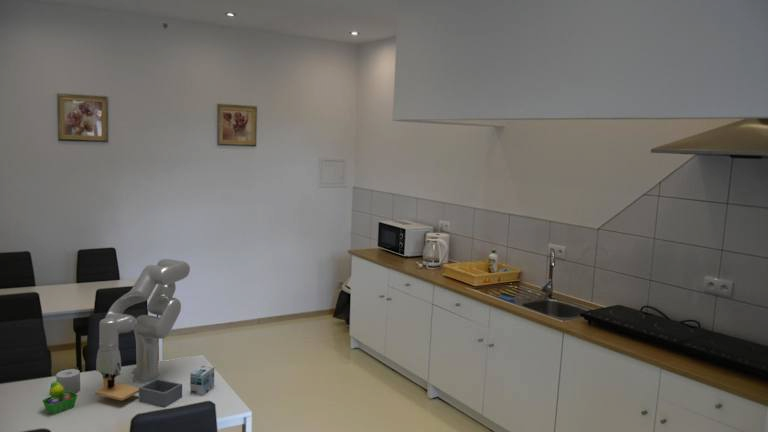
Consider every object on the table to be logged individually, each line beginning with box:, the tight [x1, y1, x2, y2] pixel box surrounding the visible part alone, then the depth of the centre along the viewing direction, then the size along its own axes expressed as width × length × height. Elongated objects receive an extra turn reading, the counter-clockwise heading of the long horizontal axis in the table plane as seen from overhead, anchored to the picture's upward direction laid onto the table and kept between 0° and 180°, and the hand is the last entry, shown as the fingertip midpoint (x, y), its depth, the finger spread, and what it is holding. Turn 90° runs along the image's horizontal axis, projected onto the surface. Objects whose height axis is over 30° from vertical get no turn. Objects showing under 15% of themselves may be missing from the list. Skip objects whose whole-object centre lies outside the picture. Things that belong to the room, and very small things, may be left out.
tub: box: [138, 378, 183, 408], centre depth 254 cm, size 14×11×7 cm
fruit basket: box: [42, 381, 78, 415], centre depth 243 cm, size 11×9×11 cm
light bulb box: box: [189, 364, 215, 397], centre depth 264 cm, size 11×7×11 cm, turn 168°
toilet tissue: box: [55, 368, 81, 394], centre depth 261 cm, size 9×13×9 cm
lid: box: [94, 376, 140, 402], centre depth 252 cm, size 15×12×7 cm
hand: (109, 386), depth 254 cm, fingers closed on lid, 1 cm apart
